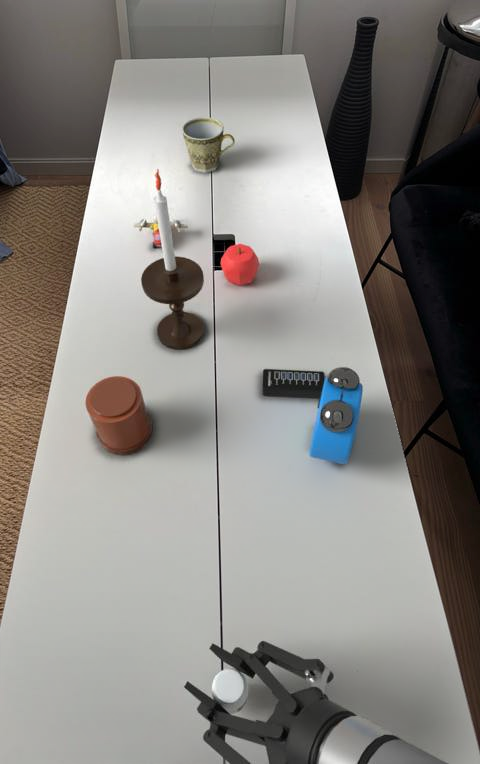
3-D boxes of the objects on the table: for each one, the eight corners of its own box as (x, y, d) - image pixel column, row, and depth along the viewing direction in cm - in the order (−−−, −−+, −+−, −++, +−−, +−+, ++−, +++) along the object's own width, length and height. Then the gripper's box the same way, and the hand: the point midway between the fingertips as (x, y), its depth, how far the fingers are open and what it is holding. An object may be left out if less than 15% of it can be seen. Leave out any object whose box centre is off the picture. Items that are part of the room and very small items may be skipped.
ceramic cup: (179, 173, 138) (175, 135, 130) (194, 151, 143) (191, 114, 135) (228, 182, 135) (227, 144, 127) (241, 160, 141) (240, 122, 133)
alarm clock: (342, 479, 88) (357, 432, 76) (304, 470, 89) (313, 422, 77) (353, 412, 95) (369, 360, 83) (318, 405, 96) (328, 352, 84)
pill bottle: (248, 714, 68) (249, 707, 61) (212, 714, 68) (209, 708, 61) (248, 674, 70) (248, 664, 64) (213, 674, 70) (210, 664, 64)
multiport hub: (323, 398, 97) (325, 391, 95) (261, 395, 98) (262, 388, 96) (323, 378, 100) (324, 371, 98) (263, 376, 100) (263, 368, 99)
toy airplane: (158, 256, 120) (154, 232, 115) (134, 236, 124) (129, 212, 119) (190, 237, 123) (188, 213, 118) (166, 218, 127) (162, 194, 122)
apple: (258, 290, 113) (259, 261, 107) (220, 290, 113) (218, 261, 107) (259, 264, 118) (259, 234, 111) (222, 264, 118) (220, 234, 112)
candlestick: (166, 306, 111) (138, 144, 83) (216, 318, 109) (205, 157, 80) (143, 345, 105) (104, 186, 77) (196, 359, 103) (175, 201, 74)
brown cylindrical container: (127, 465, 90) (115, 432, 82) (86, 437, 93) (69, 403, 85) (163, 424, 95) (155, 389, 86) (123, 399, 98) (111, 363, 89)
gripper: (317, 887, 46) (180, 756, 65) (405, 690, 54) (261, 626, 73) (266, 846, 43) (139, 723, 62) (366, 646, 51) (227, 591, 70)
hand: (205, 670), depth 67 cm, fingers closed on pill bottle, 4 cm apart
